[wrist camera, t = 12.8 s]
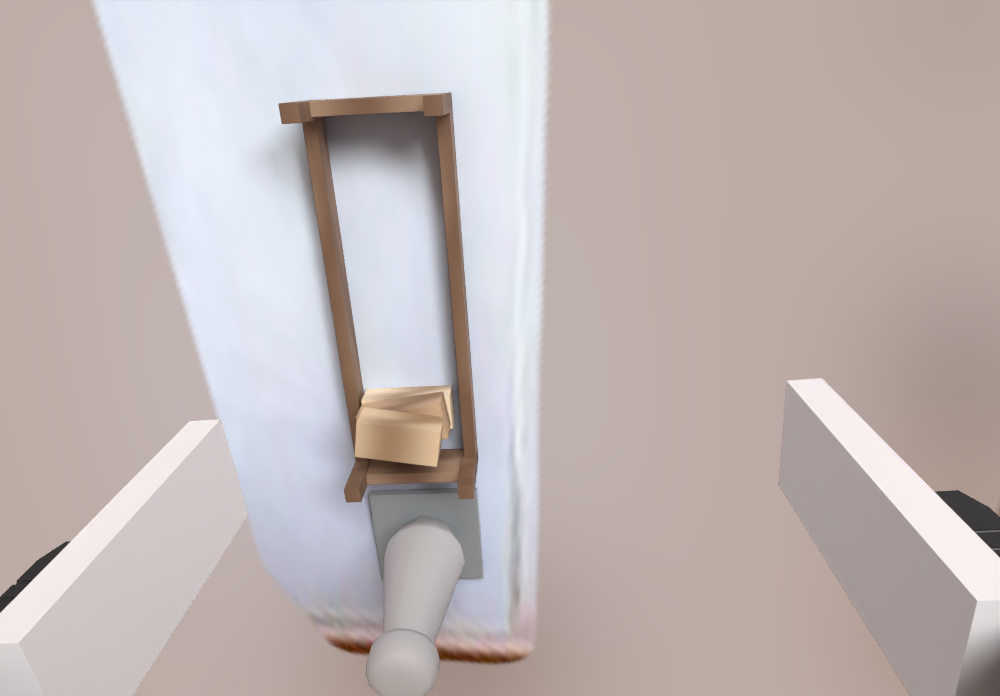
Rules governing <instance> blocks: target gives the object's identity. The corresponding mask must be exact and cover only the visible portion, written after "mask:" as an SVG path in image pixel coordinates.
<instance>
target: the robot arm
mask: <svg viewBox="0 0 1000 696" xmlns="http://www.w3.org/2000/svg"><path fill="white" fill-rule="evenodd" d="M785 395H786V396H785V407H784V420H783V432H782V446H781V458H780V470H779V484H778V485H779V486H780V488H781V490H782V491H783V493H784V495H785V496H786V498H787V499H788V501H789V503H790V504H791V506H792V507H793V509H794V511H795V512H796V514H797V515H798V517H799V519H800V520H801V522H802V523H803V525H804V527H805V528H806V530H807V531H808V533H809V535H810V536H811V538H812V539H813V541H814V543H815V544H816V546H817V547H818V549H819V551H820V552H821V554H822V555H823V557H824V559H825V560H826V562H827V563H828V565H829V567H830V568H831V570H832V571H833V573H834V575H835V576H836V578H837V580H838V581H839V583H840V584H841V586H842V587H843V589H844V591H845V592H846V594H847V595H848V597H849V599H850V600H851V602H852V604H853V605H854V607H855V608H856V610H857V612H858V613H859V615H860V616H861V618H862V619H863V621H864V623H865V624H866V626H867V628H868V629H869V631H870V632H871V634H872V636H873V637H874V639H875V640H876V642H877V644H878V645H879V647H880V648H881V650H882V652H883V653H884V655H885V656H886V658H887V660H888V661H889V663H890V664H891V666H892V668H893V669H894V671H895V673H896V674H897V676H898V677H899V679H900V681H901V682H902V684H903V685H904V687H905V688H906V690H907V692H908V693H909V695H910V696H1000V517H999V516H998V515H997V514H996V513H995V512H993V511H992V510H991V509H990V508H989V507H988V506H985V505H984V504H982V503H980V502H978V501H976V500H975V499H973V498H971V497H969V496H967V495H965V494H964V493H962V492H960V491H958V490H956V491H938V492H934V491H933V490H932V489H931V488H930V487H929V486H928V485H927V484H926V483H925V482H924V481H923V480H922V479H921V478H920V477H919V476H918V475H917V474H916V473H915V472H914V471H913V470H912V469H911V468H910V467H909V466H908V465H907V464H906V463H905V462H904V461H903V460H902V459H901V458H900V457H899V456H898V455H897V454H896V453H895V452H894V451H893V450H892V449H891V448H890V447H889V446H888V445H887V444H886V443H885V442H884V440H882V438H880V436H879V435H878V434H876V432H875V431H873V430H872V428H871V427H870V426H869V425H868V424H867V423H866V422H865V421H864V420H863V419H862V418H861V417H860V416H859V415H858V414H857V413H856V412H855V411H854V410H853V409H852V408H851V407H850V406H849V405H848V404H847V403H846V402H845V401H844V400H843V399H842V398H841V397H840V396H839V395H838V394H837V393H836V392H835V391H834V390H833V389H832V388H831V387H830V386H829V385H828V384H827V383H826V382H825V381H824V380H823V379H822V378H820V379H806V380H791V381H787V382H786V394H785ZM247 516H248V512H247V509H246V505H245V502H244V499H243V495H242V492H241V488H240V485H239V482H238V478H237V475H236V471H235V468H234V464H233V461H232V458H231V454H230V451H229V447H228V444H227V440H226V437H225V434H224V430H223V427H222V423H221V420H220V419H218V420H204V421H191V422H188V424H186V425H185V427H183V428H182V430H181V431H179V432H178V434H177V435H176V436H175V437H174V438H173V439H172V440H171V441H170V442H169V443H168V444H167V445H166V446H165V447H164V448H163V449H162V450H161V451H160V452H159V453H158V454H157V455H156V456H155V457H154V458H153V459H152V460H151V461H150V462H149V463H148V464H147V465H146V466H145V467H144V468H143V469H142V470H141V471H140V472H139V473H138V474H137V475H136V476H135V477H134V478H133V479H132V480H131V481H130V482H129V483H128V484H127V485H126V486H125V487H124V488H123V489H122V490H121V491H120V492H119V493H118V494H117V495H116V496H115V497H114V498H113V499H112V500H111V501H110V502H109V503H108V504H107V505H106V507H104V509H102V510H101V512H100V513H99V514H98V515H97V516H96V517H95V518H94V519H93V520H92V521H91V522H90V523H89V524H88V525H87V526H86V527H85V528H84V529H83V530H82V531H81V532H80V533H79V534H78V535H77V536H76V537H75V538H74V539H73V540H72V541H69V542H65V543H63V544H62V545H60V546H59V547H57V548H55V549H54V550H52V551H51V552H49V553H48V554H46V555H45V556H43V557H42V558H40V559H39V560H37V561H36V562H35V563H34V564H33V565H32V566H31V567H30V568H29V569H28V570H27V571H26V572H25V573H24V574H23V575H22V576H21V577H20V578H19V579H18V580H17V584H16V585H12V586H11V587H10V588H9V589H8V590H7V591H6V592H5V593H4V594H3V595H2V596H1V597H0V696H133V694H134V693H135V691H136V690H137V688H138V686H139V685H140V683H141V682H142V680H143V679H144V677H145V676H146V674H147V673H148V671H149V669H150V668H151V666H152V665H153V663H154V661H155V660H156V658H157V657H158V655H159V654H160V652H161V651H162V649H163V647H164V646H165V644H166V643H167V641H168V640H169V638H170V637H171V635H172V633H173V632H174V630H175V628H176V627H177V625H178V624H179V622H180V621H181V619H182V618H183V616H184V615H185V613H186V612H187V610H188V608H189V607H190V605H191V604H192V602H193V601H194V599H195V597H196V596H197V594H198V593H199V591H200V589H201V588H202V586H203V585H204V583H205V581H206V580H207V579H208V577H209V576H210V574H211V572H212V571H213V569H214V568H215V566H216V565H217V563H218V561H219V560H220V558H221V557H222V555H223V554H224V552H225V551H226V549H227V547H228V546H229V544H230V543H231V541H232V540H233V538H234V536H235V535H236V533H237V532H238V530H239V529H240V527H241V526H242V524H243V522H244V521H245V519H246V518H247Z"/></svg>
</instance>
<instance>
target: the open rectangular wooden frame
mask: <svg viewBox="0 0 1000 696" xmlns="http://www.w3.org/2000/svg"><path fill="white" fill-rule="evenodd" d="M279 110H280V116H281V122H282V124H291V123H302V124H303V130H304V137H305V143H306V149H307V156H308V162H309V168H310V175H311V181H312V187H313V194H314V200H315V206H316V213H317V219H318V225H319V232H320V238H321V244H322V251H323V257H324V263H325V269H326V276H327V282H328V288H329V295H330V301H331V307H332V314H333V320H334V326H335V333H336V339H337V345H338V352H339V358H340V364H341V371H342V377H343V383H344V390H345V396H346V402H347V408H348V415H349V421H350V427H351V434H352V440H353V446H354V453H355V441H356V422H357V420H356V416H357V414H358V412H359V410H360V408H361V406H362V402H361V400H362V398H363V396H364V392H363V385H362V379H361V372H360V365H359V358H358V351H357V344H356V338H355V331H354V324H353V317H352V310H351V303H350V296H349V290H348V283H347V276H346V269H345V262H344V255H343V249H342V242H341V235H340V228H339V221H338V214H337V207H336V201H335V194H334V187H333V180H332V173H331V166H330V160H329V153H328V146H327V139H326V132H325V125H324V118H327V116H337V115H355V114H374V113H393V112H412V111H424V116H436V122H437V134H438V146H439V158H440V170H441V182H442V194H443V206H444V218H445V230H446V242H447V254H448V266H449V278H450V290H451V302H452V314H453V326H454V338H455V350H456V362H457V374H458V386H459V398H460V410H461V422H462V434H463V449H440V454H439V459H438V463H437V467H434V466H425V465H417V464H409V463H401V462H393V461H385V460H376V459H368V458H360V457H355V459H356V462H355V465H354V467H353V470H352V472H351V474H350V477H349V479H348V481H347V484H346V486H345V488H344V493H345V499H346V502H361V501H362V498H363V495H364V493H365V490H366V487H367V484H402V483H437V482H458V497H459V499H474V492H475V483H476V473H477V464H478V450H477V436H476V423H475V409H474V396H473V382H472V369H471V355H470V341H469V328H468V314H467V301H466V287H465V274H464V260H463V247H462V233H461V220H460V206H459V193H458V179H457V166H456V152H455V139H454V125H453V111H452V98H451V93H438V94H419V95H401V96H382V97H364V98H345V99H326V100H308V101H298V102H289V103H279Z"/></svg>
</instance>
